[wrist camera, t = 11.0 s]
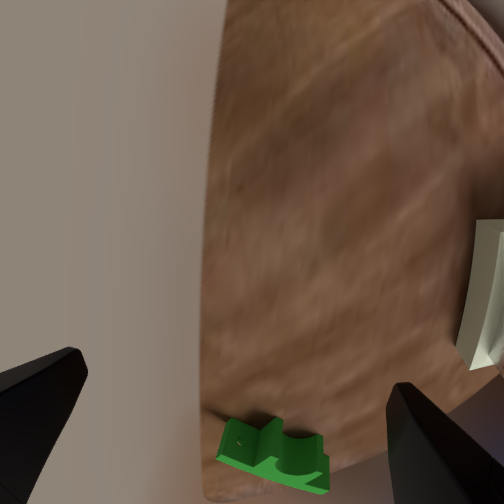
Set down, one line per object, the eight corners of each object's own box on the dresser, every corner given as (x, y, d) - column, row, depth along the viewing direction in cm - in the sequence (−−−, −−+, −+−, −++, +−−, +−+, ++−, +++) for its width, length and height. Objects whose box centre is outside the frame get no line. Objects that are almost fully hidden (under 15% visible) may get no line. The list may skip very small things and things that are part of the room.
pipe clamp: (346, 442, 24) (349, 480, 20) (322, 459, 25) (322, 494, 21) (246, 401, 23) (236, 443, 19) (226, 421, 25) (215, 460, 20)
